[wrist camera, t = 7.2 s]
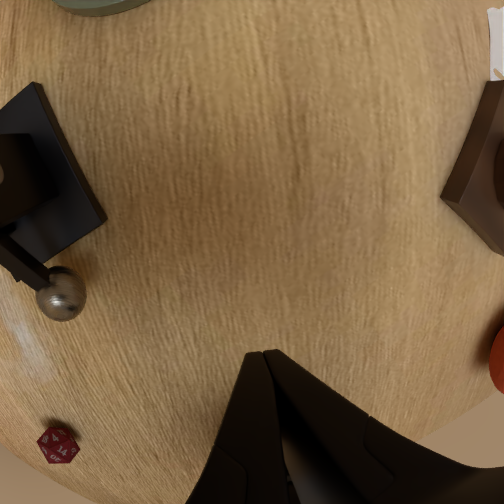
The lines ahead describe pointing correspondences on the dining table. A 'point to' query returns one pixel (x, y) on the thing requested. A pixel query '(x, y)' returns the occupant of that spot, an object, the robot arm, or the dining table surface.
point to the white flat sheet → (496, 41)
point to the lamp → (97, 6)
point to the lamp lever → (45, 281)
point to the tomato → (497, 361)
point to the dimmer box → (482, 171)
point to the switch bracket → (41, 180)
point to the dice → (58, 445)
